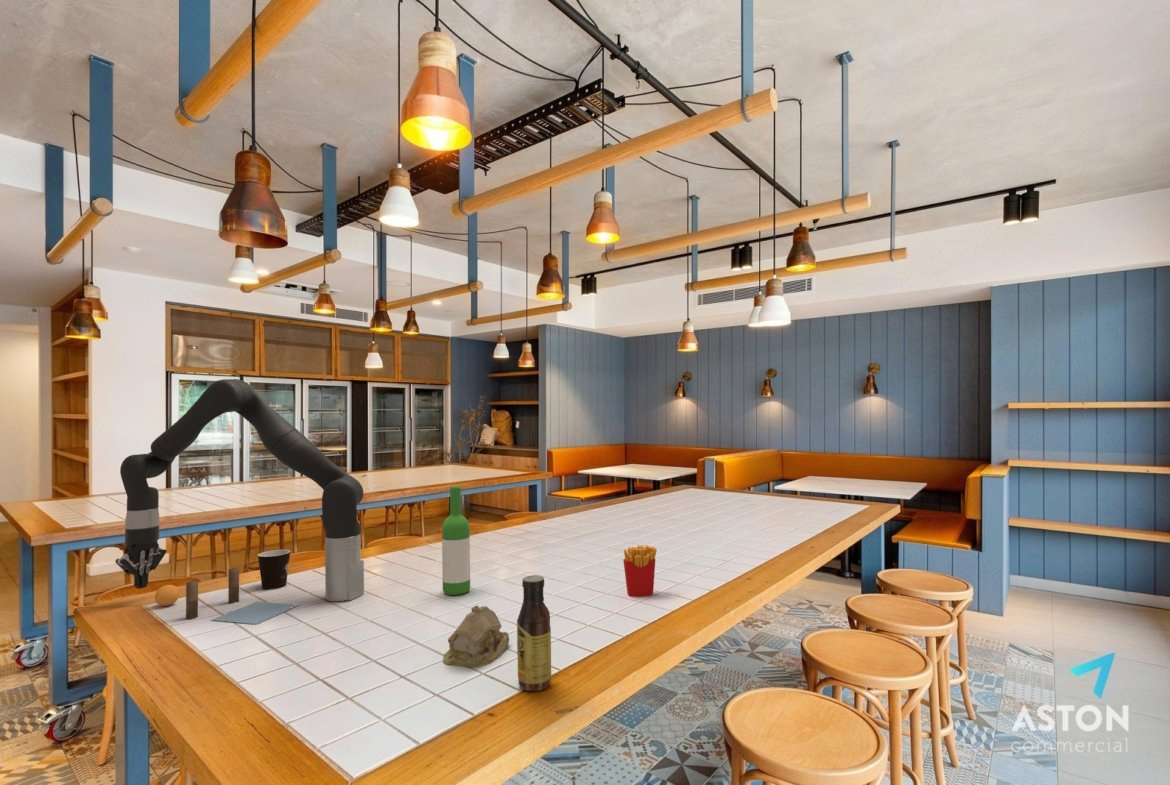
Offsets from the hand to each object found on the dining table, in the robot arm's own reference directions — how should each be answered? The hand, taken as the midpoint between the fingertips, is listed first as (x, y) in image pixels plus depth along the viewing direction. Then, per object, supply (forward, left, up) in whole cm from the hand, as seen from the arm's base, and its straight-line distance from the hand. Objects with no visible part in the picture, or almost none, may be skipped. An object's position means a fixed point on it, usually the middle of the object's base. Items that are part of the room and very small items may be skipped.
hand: (141, 587), depth 157 cm
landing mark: (-39, 0, -4) cm, 39 cm away
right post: (-25, -6, -4) cm, 26 cm away
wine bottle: (-83, -26, -5) cm, 87 cm away
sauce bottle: (-124, +22, -5) cm, 126 cm away
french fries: (-135, -34, -5) cm, 139 cm away
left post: (-25, +6, -4) cm, 26 cm away
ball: (-9, 0, -2) cm, 9 cm away
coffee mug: (-25, -22, -5) cm, 34 cm away
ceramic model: (-107, +11, -5) cm, 108 cm away
